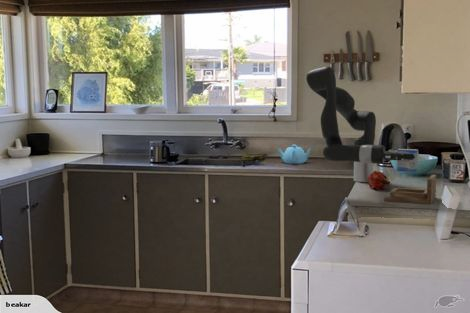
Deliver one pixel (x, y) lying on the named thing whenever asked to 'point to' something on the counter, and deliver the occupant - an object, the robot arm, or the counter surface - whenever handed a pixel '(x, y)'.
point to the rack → (414, 193)
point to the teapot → (294, 155)
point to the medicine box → (408, 161)
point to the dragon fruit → (377, 180)
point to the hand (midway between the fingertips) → (414, 156)
